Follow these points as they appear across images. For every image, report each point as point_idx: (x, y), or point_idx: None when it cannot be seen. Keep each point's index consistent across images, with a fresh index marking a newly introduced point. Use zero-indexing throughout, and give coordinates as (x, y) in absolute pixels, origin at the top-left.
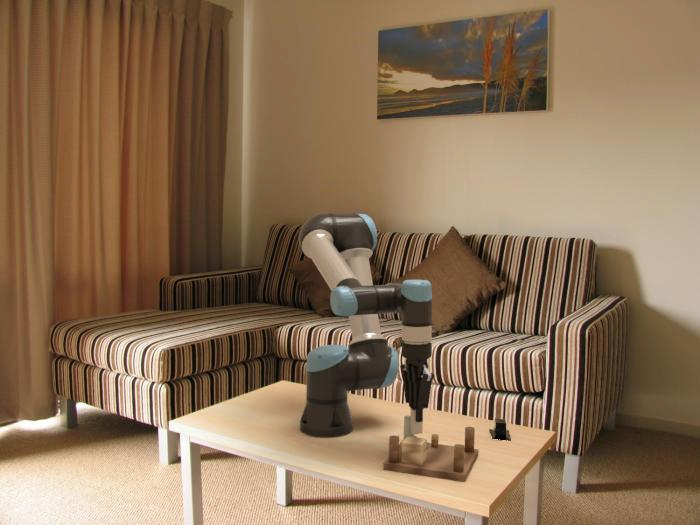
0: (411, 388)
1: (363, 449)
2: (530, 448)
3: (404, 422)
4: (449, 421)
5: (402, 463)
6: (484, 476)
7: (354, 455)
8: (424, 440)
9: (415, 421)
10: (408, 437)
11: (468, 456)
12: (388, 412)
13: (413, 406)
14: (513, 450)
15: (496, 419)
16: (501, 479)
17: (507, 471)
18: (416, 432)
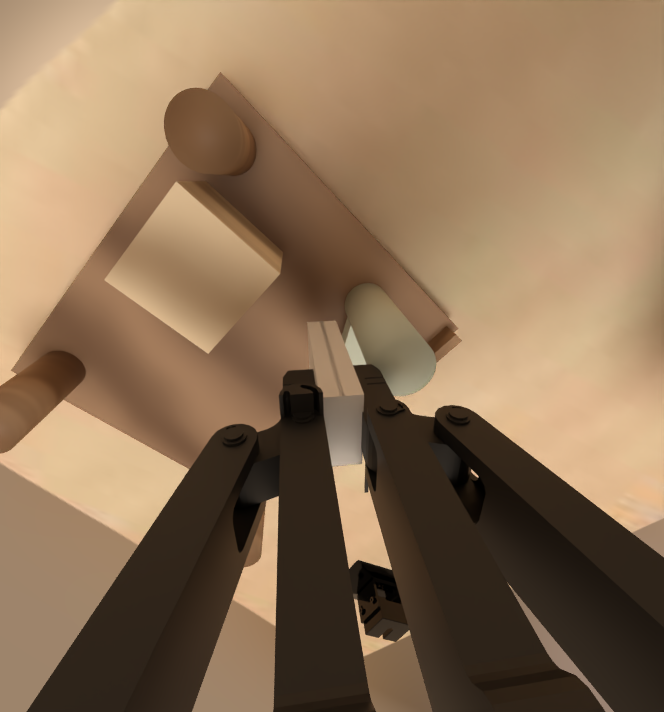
0: (422, 556)
1: (501, 123)
2: (262, 604)
3: (401, 325)
4: None
5: (190, 177)
6: (76, 434)
7: (459, 24)
8: (182, 329)
9: (313, 367)
10: (255, 268)
11: None
12: None
13: (363, 422)
14: (263, 572)
15: (405, 627)
16: (43, 466)
17: (110, 504)
18: (308, 344)
